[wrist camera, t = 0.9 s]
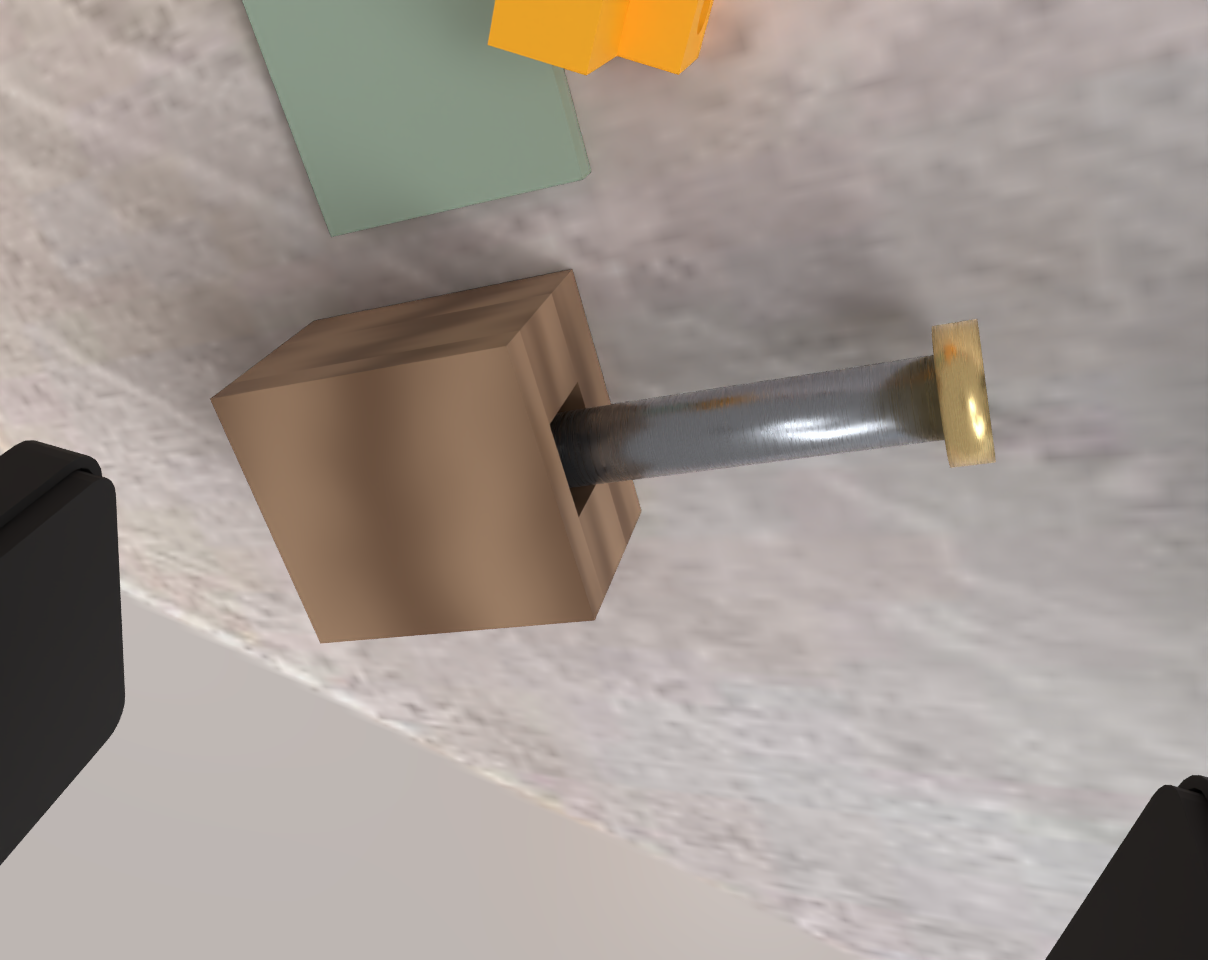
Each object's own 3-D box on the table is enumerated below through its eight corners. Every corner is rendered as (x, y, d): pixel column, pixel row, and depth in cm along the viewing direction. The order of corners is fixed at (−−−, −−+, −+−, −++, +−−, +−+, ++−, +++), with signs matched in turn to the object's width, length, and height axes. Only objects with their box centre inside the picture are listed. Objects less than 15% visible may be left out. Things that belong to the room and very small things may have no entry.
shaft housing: (572, 269, 36) (506, 346, 30) (641, 511, 40) (594, 620, 34) (313, 320, 39) (210, 399, 34) (400, 539, 43) (320, 643, 38)
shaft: (974, 298, 31) (981, 351, 28) (990, 424, 33) (999, 488, 30) (493, 379, 37) (450, 432, 33) (528, 484, 38) (490, 545, 35)
